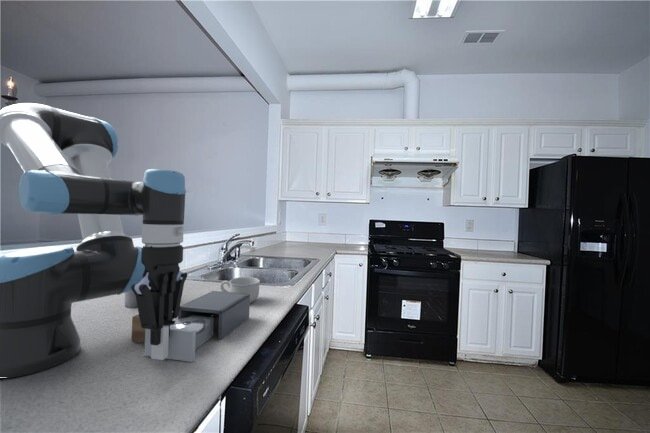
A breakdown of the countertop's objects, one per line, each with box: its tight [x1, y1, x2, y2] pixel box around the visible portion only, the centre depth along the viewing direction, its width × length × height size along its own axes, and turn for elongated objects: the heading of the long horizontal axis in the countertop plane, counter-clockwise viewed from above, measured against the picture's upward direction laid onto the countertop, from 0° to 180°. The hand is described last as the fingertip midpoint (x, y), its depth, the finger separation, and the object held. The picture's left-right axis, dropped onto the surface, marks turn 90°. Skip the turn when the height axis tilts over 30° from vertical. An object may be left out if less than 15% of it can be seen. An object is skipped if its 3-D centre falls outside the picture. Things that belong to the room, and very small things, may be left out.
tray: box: [144, 315, 215, 363], centre depth 67 cm, size 12×12×6 cm
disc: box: [170, 317, 205, 334], centre depth 66 cm, size 8×8×2 cm
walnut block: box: [131, 313, 145, 344], centre depth 70 cm, size 5×5×6 cm
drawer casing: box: [177, 290, 251, 341], centre depth 79 cm, size 16×12×8 cm
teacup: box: [220, 276, 261, 304], centre depth 102 cm, size 14×11×8 cm
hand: (159, 357), depth 58 cm, fingers closed
